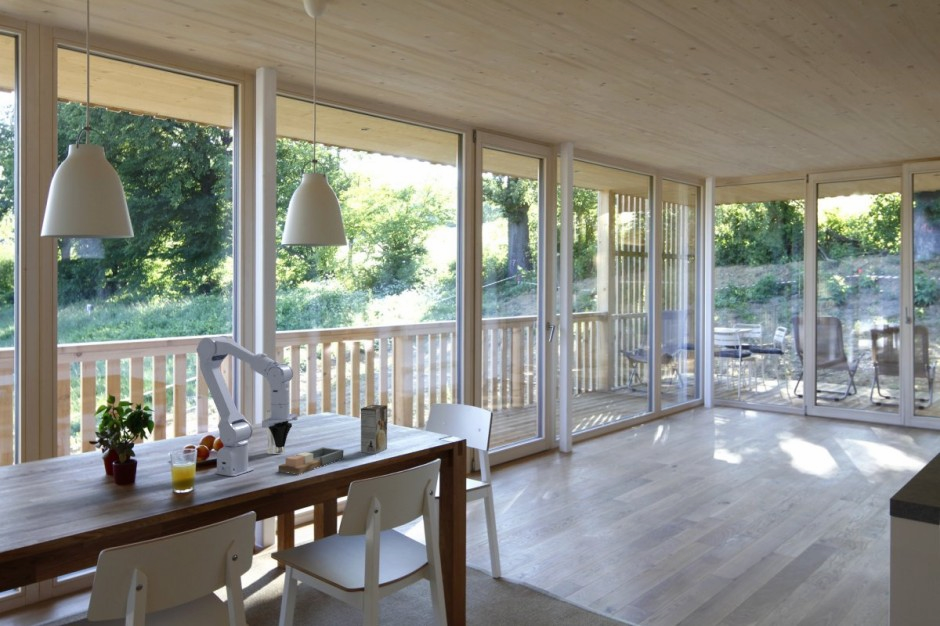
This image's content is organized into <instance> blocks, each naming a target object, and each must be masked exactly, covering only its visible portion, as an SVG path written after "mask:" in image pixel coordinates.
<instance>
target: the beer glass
mask: <svg viewBox="0 0 940 626" xmlns="http://www.w3.org/2000/svg"><path fill="white" fill-rule="evenodd" d="M265 413H266V414H265V420H266V419H268V418H270V417H271V409H267V410H266V411H265ZM265 431H266V437H267V449H266V454H267V453H268V455H271V454H278V455H282V454H281V453H283V454H284V453H285V446H284V447H276V445H275V441H274V438H273V435H272V433H271V431H270V429H269V428H265Z"/></svg>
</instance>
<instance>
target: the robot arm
mask: <svg viewBox="0 0 940 626" xmlns="http://www.w3.org/2000/svg"><path fill="white" fill-rule="evenodd" d="M195 350H196V353H197V354H198V357H199V369H200V371H201V374H202V377H203V379H204V381H205V383H206V386H207V388H208V391H209V393H210V395H211V397H212V400H213V403H214V405H215V407H216V410H217V413H218V414H219V418H220V419H219V422H218V424H217V428H218V430H219V440H220V441H221V443H222V444H223V445H222V447H221V448H219V449H218V451H217V453H216V471H215V472H214V474H216V475H222V476H229V477H237V476H240V475H243V474H246V473H249V472H251V471H255V468H254V467H249V443H250V439H251V437H253V434H254V433H253V432H254V428H253V426H252V424H251V423H250V422H249V421H248V420H247V418H246V416H245V415H244V414H242V413H240V412H239V410H238V409H237V407H236V404H235V401H234V399H233V397H232V394H231V392H230V390H229V387H228V386H227V383H226V380H225V378H224V376H223V373H222V371H221V368H220V367H221V364H222V363H223V361H225V359H226V358H227V357H228V355H230V356H231V357H235V358H237V359H238V360H241V361H243V362H245V363H247V364H249V367H250V369H251V370H252V371H253V372H255V373H257V374H259V375H261V376H262V377H265V378H266V379H267V381H268V384H269V388H270V410H271V417H270V418H268V419H266V418H265V419H264V420H262V421H261V427H262V428H263V429H264V428H265V429H266V428H269V429H270V431H271V433H272V435H273V438H274V441H275V445H276V447H284V448H285V445H286V441H287V438H288V434H289V433H290V430H291V428H292V426H293V424H292V421H297V420H298V413H290V410H291V409H290V400H291V399H290V395H291V393H290V386H291V385H290V384H291V383H290V381H291V380H293V377H294V371H293V368H292V367H291V366H290V365H289V364H287V363H282V364H280V362H279V361H278V360H273V359H272V358H270V357H268V354H266V353H257V354H255V353H253V352H252V351H250V350H248V349H247V348H246V347H244V346H242V345H241V344H239V343H237V342H236V341H235V340H234V339H233V338H230V337H228V336H226V335H221V336H213V337H204V338H202V339H201V340H200V341H199V343H198V345H197V347H196V349H195Z"/></svg>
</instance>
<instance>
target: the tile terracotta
mask: <svg viewBox="0 0 940 626" xmlns="http://www.w3.org/2000/svg"><path fill="white" fill-rule="evenodd" d="M285 463H286V466H291V467H298V466H300V465H303V464H304V457H302V456H296V455H290V456H288V457H285Z"/></svg>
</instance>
